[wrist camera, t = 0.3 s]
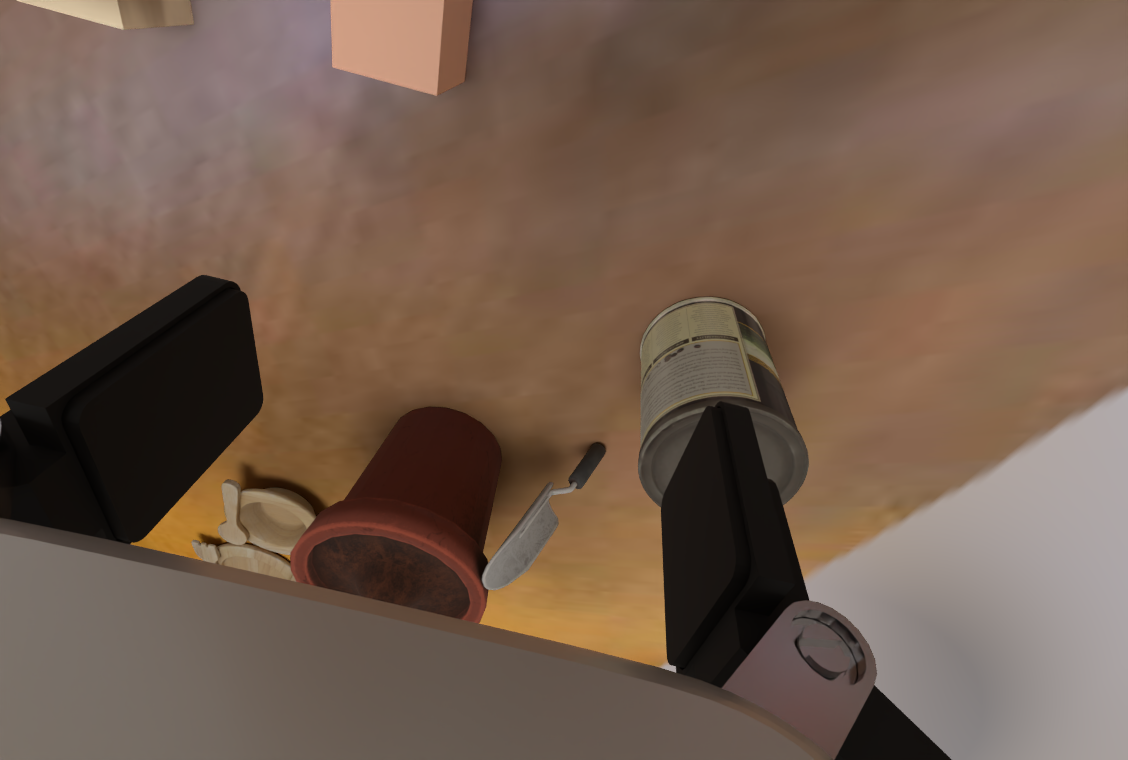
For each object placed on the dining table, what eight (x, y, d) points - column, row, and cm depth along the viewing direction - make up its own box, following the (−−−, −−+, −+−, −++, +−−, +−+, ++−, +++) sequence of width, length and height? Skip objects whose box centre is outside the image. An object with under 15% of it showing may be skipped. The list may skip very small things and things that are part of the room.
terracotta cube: (376, -59, 32) (328, -69, 27) (476, -31, 32) (446, -35, 27) (375, 56, 35) (332, 67, 30) (464, 81, 35) (436, 95, 30)
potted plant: (398, 350, 49) (227, 603, 29) (608, 445, 52) (588, 728, 32) (355, 468, 59) (206, 717, 39) (534, 541, 62) (484, 802, 42)
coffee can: (791, 321, 42) (846, 441, 31) (726, 413, 49) (752, 542, 37) (671, 276, 41) (682, 383, 30) (620, 376, 48) (613, 497, 36)
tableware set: (197, 572, 76) (177, 598, 73) (210, 441, 60) (185, 467, 56) (429, 653, 82) (420, 681, 79) (499, 555, 66) (492, 585, 62)
